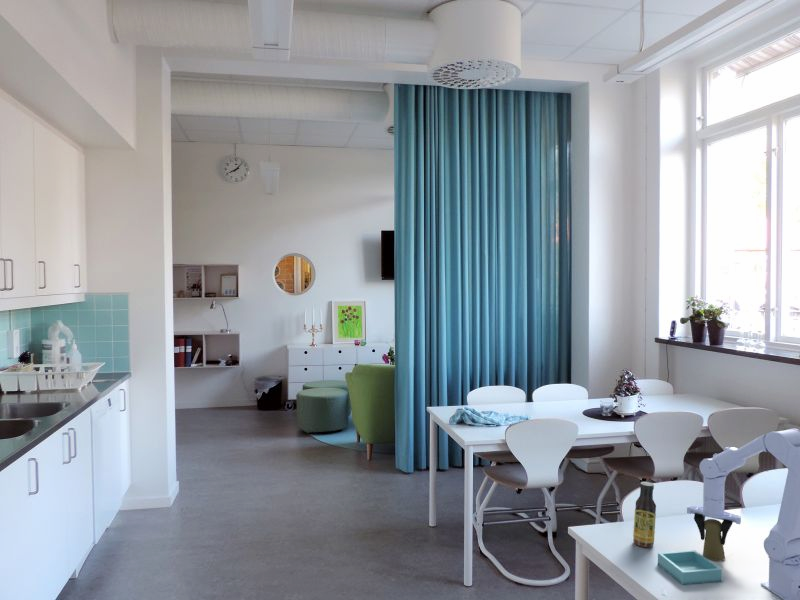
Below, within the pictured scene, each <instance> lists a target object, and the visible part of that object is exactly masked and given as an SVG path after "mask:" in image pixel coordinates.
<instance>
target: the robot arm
mask: <svg viewBox="0 0 800 600" xmlns="http://www.w3.org/2000/svg"><path fill="white" fill-rule="evenodd" d="M723 450H724V451H722V452H720V453H714V454H713V455H712V457H711V458H703V459H702V460H701V461H700V462H699V471H700V473H701V475H702V477H703V490H702V491H703V493H702V495H703V496H702V497H703V499H702V500H703V502H702V506H694V505H687V507H686V514H688V515H691V514H693V515H694V516H693V520H694V522H695V524H696V525H697V529H698V532H699V536H700V539H701V541H705V533H706V530H705V528H704V522H705V520H706V517H707V518H710V519H715V520H719V521H721V520H722V521H721V523H722V532H721V536H722V541H721V544H722V545H723V546H725V543H726V540H727V539H726V538H727V535H728V532H729V531H730V530H731V527H732V525H733V523H735V524H737V525H741V523H742V516H741V515H737V514H733V513H732V512H729V511H726V510H725V489H726V488H725V486H726V485H725V483H726V480H727V477H728V475H729V474H730V473H731V472H734V471H735V470H737V469H739V468H741V467H743V466H745V465H746V462H747V459H749V458H751V457H754V456H756V455H758V454H760V453H762V452H765V453H767V452H769V453H770V454H771V455H773V457H774V458H776V459H777V460H778V461H780V463H782V464H783V465H784V466H785V468H787V470H788V471H787V475H786V479H785V485H784V489H783V492H782V499H781V503H780V507H779V513H778V517H777V521H776V523H775V524H774V525H773V527H772V528H771V529H770V530H769V533H768V535H767V537H766V538H765V539H764V541H763V548H764V550H765V553H766V554H767V556H768V557H767V558H769V559H768V562H769V563H768V564H769V565H768V581H761V582H760V585H761V586H762V587H764V588H766V589H767V590H769V591H770V592H771V593H773V594H775V595H776V596H778V597H779V598H780V599H782V600H800V429H798V428H795V427H794V428H793V427H792V428H788V429H785V430H779V431H770V432H768V433H765V434H762V435H760V436H758V437H756V438H755V439H753V440H751V441H749V442H748V443H746V444H744V445H742V446H741V447H739V448H738V447H735V446H732V447H731V446H727V447H724V449H723Z"/></svg>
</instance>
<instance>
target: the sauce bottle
mask: <svg viewBox="0 0 800 600" xmlns="http://www.w3.org/2000/svg"><path fill="white" fill-rule="evenodd" d="M639 488H640V490H639V491H640V493H639V496H638V498H637V500H636V501H635V510H634V518H633V521H634V522H633V534H632V536H633V540H632V541H633V543H634V545H636V546H639V547H642V548H648V549H649V548H651V547H653V546H654V543H655V533H656V531H655V529H656V517H657V516H656V515H657V514H656V512H657V505H656V503H655V501H654V499H653V498H654V495H653V494H654V493H653V492H654V488H655V485H654V484H653V483H652V482H649V481H641V482H640V484H639Z"/></svg>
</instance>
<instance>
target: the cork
mask: <svg viewBox="0 0 800 600" xmlns="http://www.w3.org/2000/svg"><path fill="white" fill-rule="evenodd" d="M704 528H705V538H704V540H703V541H704V543H703V550H702V556H704V557H705V558H706V559H708V560H710V561H711V560H712V561H716V562H717V561H724V560H725V559H726V555H725V549H724V548H725V547H724V545H722V544H721V541H722V521H721V520H719V519H716V518H708V519H705V522H704Z"/></svg>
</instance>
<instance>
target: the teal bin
mask: <svg viewBox="0 0 800 600" xmlns="http://www.w3.org/2000/svg"><path fill="white" fill-rule="evenodd" d="M657 565H658V566H659V567H661V569H663V570H664V571H665V572H666V573H667V574H669V575H670V576H672V577H673V579H675V580H676V581H677V582H679V583H680V584H681V585H682V586H683V585H685V586H686V585H696V584H710V583H711V584H712V583H721V582H722V581H723V569H722V568H721V567H719V566H718V565H717V564H715V563H714V562H712V561H711V560H710V559H708V558H706V557H704V556H703V554H701V553H700V552H698V551H697V550H694V549H693V550H690V549H689V550H680V551H679V550H678V551H676V550H675V551H667V552H665V551H664V552H658V553H657Z"/></svg>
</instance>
